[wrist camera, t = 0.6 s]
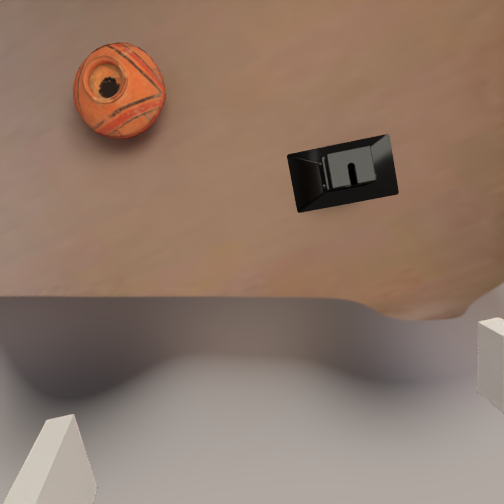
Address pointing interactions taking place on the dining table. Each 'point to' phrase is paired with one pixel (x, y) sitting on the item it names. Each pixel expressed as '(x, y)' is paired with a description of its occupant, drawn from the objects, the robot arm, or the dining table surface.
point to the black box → (343, 173)
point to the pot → (119, 90)
